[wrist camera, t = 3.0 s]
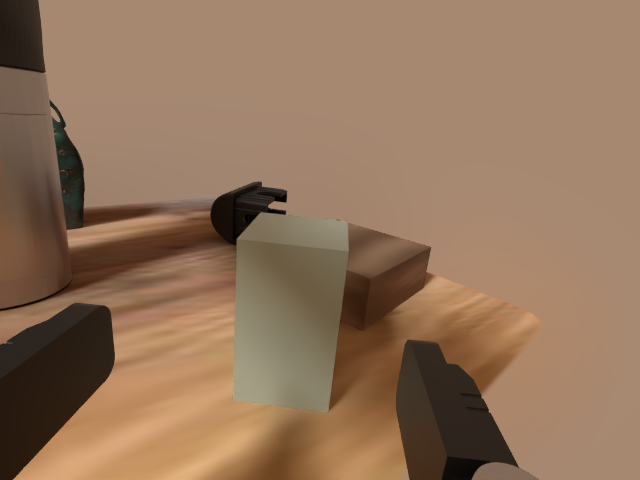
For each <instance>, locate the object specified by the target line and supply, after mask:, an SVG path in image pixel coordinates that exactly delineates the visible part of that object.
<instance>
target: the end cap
mask: <svg viewBox="0 0 640 480" xmlns="http://www.w3.org/2000/svg"><path fill="white" fill-rule="evenodd" d="M274 201H278V202H287V191H285V190H283V189H275V188H267V187H262V182H253V183H250V184H248V185H246V186H243V187H241V188H238V189H236V190H233V191H231V192H228V193H226V194H223V195H221V196H220V197H218V198H217V199H216V200H215V201H214V203H213V205H212V208H211V214H210V215H211V221H212V224H213V227H214V228H215V230H216V231H217V232H218V233H219V234H220V235H221V236H222V237H224V238H225V239H226V240H227V241H228V242H229V243H231V244H233V245H237V238H238V237H239V236H240V235H241V234H242V233H243V232H244V230H245V229H246V228H247V227H248V226H249V225H250V224H251V223H252V222H253V220H254V219H255V218H256V217H257V216H258V215H259V214H260V213H261V212H263V213H272V214H281V215H286V211H284V210H277V209H270V208H268V205H269V204H271V203H272V202H274Z"/></svg>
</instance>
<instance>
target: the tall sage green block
mask: <svg viewBox="0 0 640 480" xmlns="http://www.w3.org/2000/svg"><path fill="white" fill-rule="evenodd" d="M348 254H349V244H348V224H347V222H346V221H337V220H328V219H319V218H309V217H300V216H291V215H281V214H272V213H263V212H261V213H260V214H259V215H258V216H257V217H256V218H255V219H254V220H253V222H252V223H251V224H250V225H249V226H248V227H247V228H246V229H245V230H244V232H243V233H242V234H241V235H240V236H239V237H238V238H237V252H236V294H235V336H234V378H233V401H238V402H247V403H255V404H263V405H271V406H280V407H288V408H296V409H305V410H313V411H321V412H328V411H329V403H330V395H331V387H332V379H333V372H334V364H335V356H336V348H337V340H338V332H339V325H340V317H341V309H342V301H343V293H344V285H345V278H346V270H347V262H348Z"/></svg>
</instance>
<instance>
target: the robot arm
mask: <svg viewBox="0 0 640 480" xmlns="http://www.w3.org/2000/svg"><path fill="white" fill-rule="evenodd" d="M45 72H46V71H45V64H44V57H43V45H42V29H41V19H40V11H39V3H38V0H0V309H2V308H8V307H13V306H17V305H22V304H25V303H29V302H32V301H36V300H39V299H41V298H44V297H47V296H49V295H51V294H53V293H55V292H57V291H59V290H61V289H62V288H64V287H65V286H66V285H67V284H68V283H69V282H70V281H71V279H72V270H71V262H70V254H69V247H68V239H67V229H66V222H65V214H64V207H63V199H62V191H61V184H60V176H59V168H58V161H57V153H56V145H55V138H54V130H53V123H52V116H51V109H50V102H49V94H48V86H47V79H46V74H44V73H45ZM114 360H115V352H114V342H113V331H112V321H111V313H110V310H109V308H108V307H106V306H102V305H93V304H84V303H74V304H72V305H70V306H69V307H67V308H66V309H64V310H62V311H61V312H59V313H58V314H56V315H55V316H53V317H52V318H50V319H49V320H47V321H44V322H42V323H39V324H37V325H34V326H32V327H29V328H27V329H25V330H23V331H22V332H20V333H19V334H17V335H16V336H14V337H12V338H11V339H9V340H8V341H7V343H6V344H1V345H0V480H13V479H14V478H15V477H16V476H17V475H18V474H19V473H20V471H21V470H22V469H23V468H24V467H25V466H26V465H27V464H28V463H29V462H30V461H31V460H32V459H33V458H34V457H35V455H36V454H37V453H38V452H39V451H40V450H41V449H42V448H43V447H44V446H45V445H46V444H47V443H48V442H49V440H50V439H51V438H52V437H53V436H54V435H55V434H56V433H57V432H58V431H59V430H60V429H61V428H62V427H63V426H64V424H65V423H66V422H67V421H68V420H69V419H70V418H71V417H72V416H73V415H74V414H75V413H76V412H77V411H78V409H79V408H80V407H81V406H82V405H83V404H84V403H85V402H86V401H87V400H88V399H89V398H90V397H91V396H92V395H93V393H94V392H95V391H96V390H97V389H98V388H99V387H100V386H101V385H102V384H103V383H104V382H105V381H106V379H107V378H108V377H109V375H110V373H111V371H112V368H113V365H114ZM396 409H397V417H398V422H399V427H400V432H401V437H402V443H403V448H404V453H405V458H406V463H407V469H408V474H409V479H410V480H538V479H537V478H536V477H534V476H533V475H531V474H530V473H528V472H526V471H524V470H522V469H520V468H519V467H518V465H517V463H516V461H515V459H514V457H513V455H512V453H511V451H510V449H509V447H508V445H507V444H506V442H505V440H504V438H503V436H502V434H501V432H500V430H499V428H498V426H497V424H496V423H495V421H494V419H493V417H492V415H491V413H489V409H488V407H487V405H486V403H485V401H484V399H482V398H481V394H480V392H479V390H478V388H477V386H476V384H475V382H474V380H473V379H472V378H471V377H470V376H469V375H468V374H467V373H466V372H465V371H464V370H463V369H462V368H461V367H460V366H458V365H456V364H447V363H446V361H445V358H444V356H443V354H442V352H441V349H440V347H439V345H438V344H437V343H436V342H426V341H417V340H407V342H406V344H405V348H404V354H403V359H402V365H401V370H400V375H399V381H398V386H397V395H396Z"/></svg>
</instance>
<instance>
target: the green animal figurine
mask: <svg viewBox="0 0 640 480" xmlns="http://www.w3.org/2000/svg"><path fill="white" fill-rule="evenodd" d="M49 102H50V106H51V107H52V108H53V109H54V110H55V111H56V113H57V114H58V116H59V118H60V122H57V121H56V120H55V119H53V117H52V123H53V130H54V138H55V145H56V153H57V161H58V168H59V176H60V184H61V191H62V199H63V207H64V214H65V222H66V229H67V230H68V229H75V228H81V227H82V226H83V207H84V191H85V188H84V177H83V174H84V168H83V163H82V160H81V158H80V155H79V153H78V151H77V149H76V148H75V146H74V145H73V143H72V142H71V141H70V139H69V137H68V135H67V133H66V131H65V130H64V127H66V124H65V122H64V120H63V117H62V115H61V113H60V112H59V110H58V109H57V107H56V106H55V105H54V104H53V103H52V102H51V101H50V100H49Z"/></svg>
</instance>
